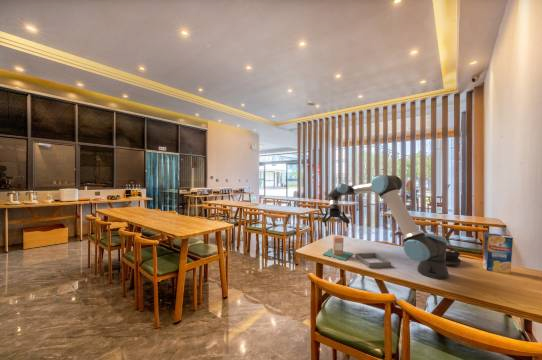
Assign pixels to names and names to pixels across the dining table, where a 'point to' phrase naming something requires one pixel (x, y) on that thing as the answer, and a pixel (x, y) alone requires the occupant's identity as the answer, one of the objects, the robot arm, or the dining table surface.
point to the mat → (341, 257)
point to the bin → (372, 265)
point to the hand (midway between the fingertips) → (336, 230)
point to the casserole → (452, 256)
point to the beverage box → (497, 253)
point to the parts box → (338, 245)
